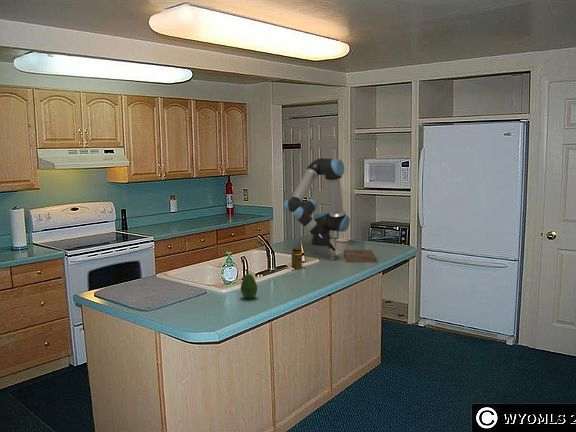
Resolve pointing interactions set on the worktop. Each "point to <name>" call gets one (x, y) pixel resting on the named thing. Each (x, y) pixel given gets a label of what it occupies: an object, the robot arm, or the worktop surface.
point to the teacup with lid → (342, 244)
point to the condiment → (297, 259)
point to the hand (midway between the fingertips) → (337, 252)
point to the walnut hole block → (359, 256)
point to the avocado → (248, 286)
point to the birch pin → (332, 254)
